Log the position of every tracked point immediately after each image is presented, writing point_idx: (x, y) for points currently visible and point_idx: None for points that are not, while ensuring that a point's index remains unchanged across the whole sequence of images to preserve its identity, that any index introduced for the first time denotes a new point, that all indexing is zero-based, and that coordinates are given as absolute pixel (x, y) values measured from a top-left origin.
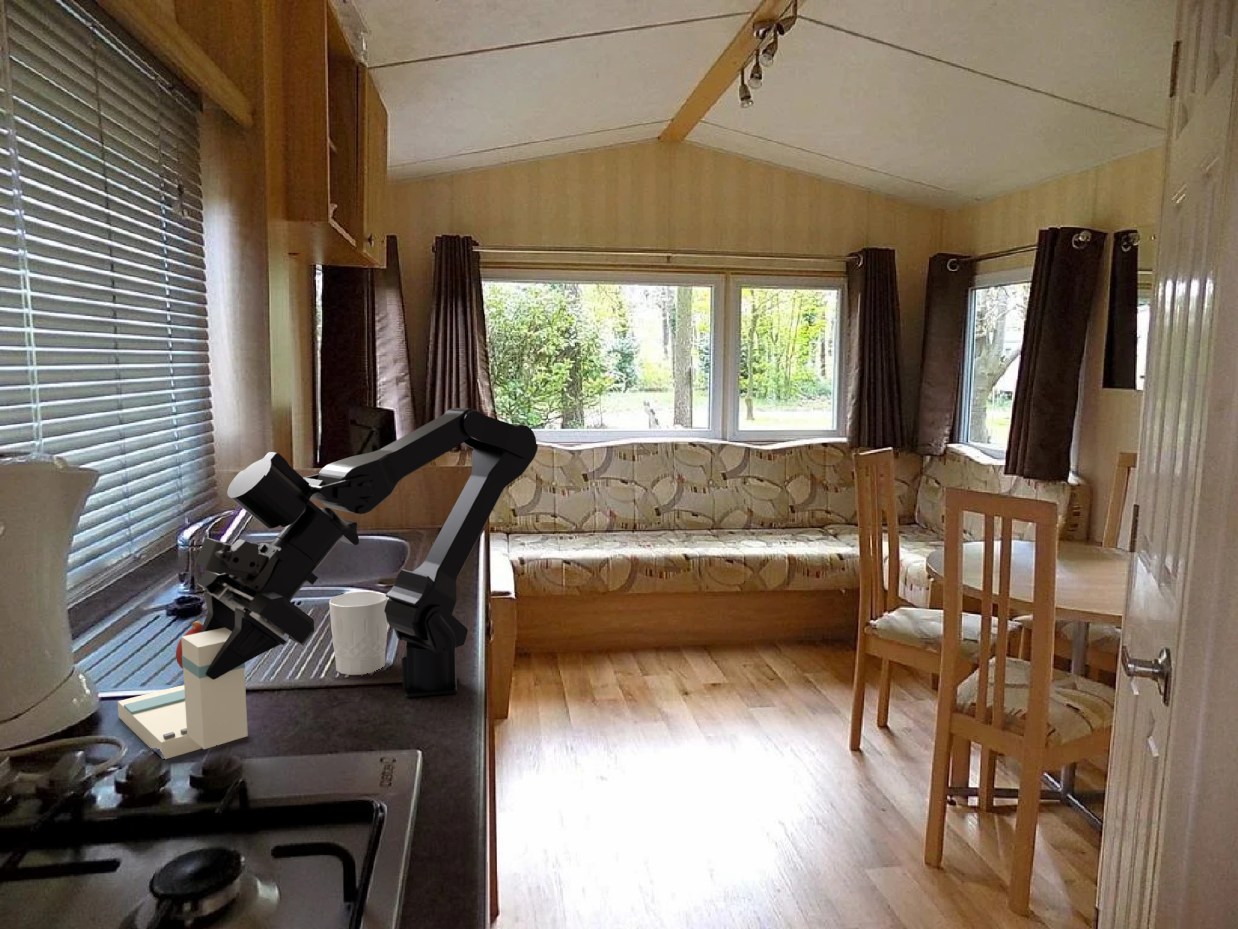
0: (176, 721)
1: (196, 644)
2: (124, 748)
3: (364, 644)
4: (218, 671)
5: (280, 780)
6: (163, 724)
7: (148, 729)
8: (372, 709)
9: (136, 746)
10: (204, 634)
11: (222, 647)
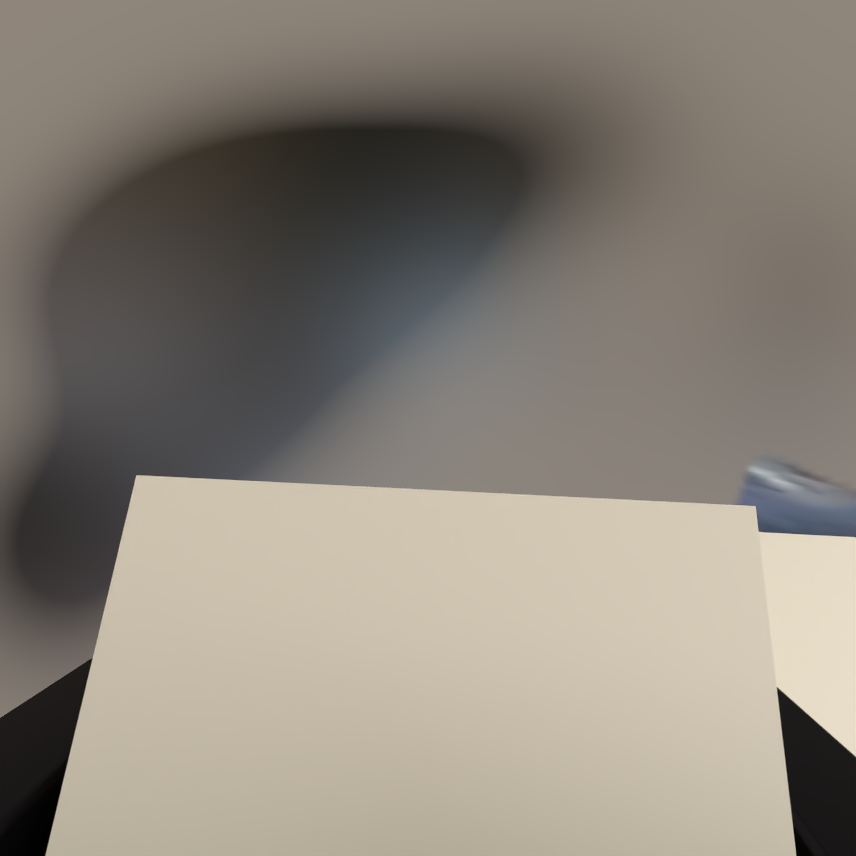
0: (801, 658)
1: (260, 507)
2: (796, 481)
3: None
4: None
5: None
6: (801, 602)
7: (779, 535)
8: None
9: (787, 517)
10: (637, 792)
11: (45, 760)
